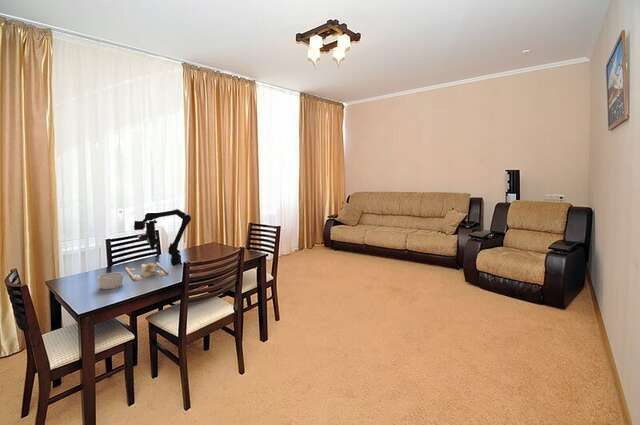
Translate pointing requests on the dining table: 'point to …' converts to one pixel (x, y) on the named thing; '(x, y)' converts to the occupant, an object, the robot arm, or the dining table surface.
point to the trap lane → (137, 277)
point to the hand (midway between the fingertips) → (152, 250)
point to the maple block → (148, 269)
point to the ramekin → (110, 280)
